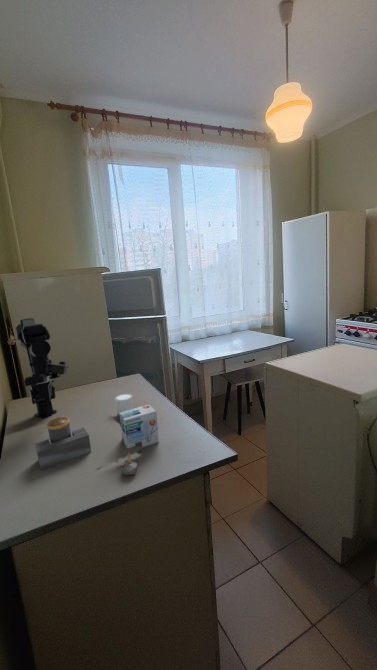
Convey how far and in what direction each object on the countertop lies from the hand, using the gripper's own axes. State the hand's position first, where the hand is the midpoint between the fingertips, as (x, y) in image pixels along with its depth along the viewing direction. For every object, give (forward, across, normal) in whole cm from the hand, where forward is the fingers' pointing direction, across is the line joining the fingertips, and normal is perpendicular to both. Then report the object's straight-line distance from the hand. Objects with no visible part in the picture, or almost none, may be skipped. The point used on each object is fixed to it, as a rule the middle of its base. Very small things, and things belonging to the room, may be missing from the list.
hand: (48, 401), depth 106 cm
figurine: (+22, -28, -27) cm, 44 cm away
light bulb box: (+19, -14, -30) cm, 38 cm away
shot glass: (+13, +9, -24) cm, 29 cm away
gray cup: (+15, -15, -7) cm, 22 cm away
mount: (+16, -13, -6) cm, 21 cm away
